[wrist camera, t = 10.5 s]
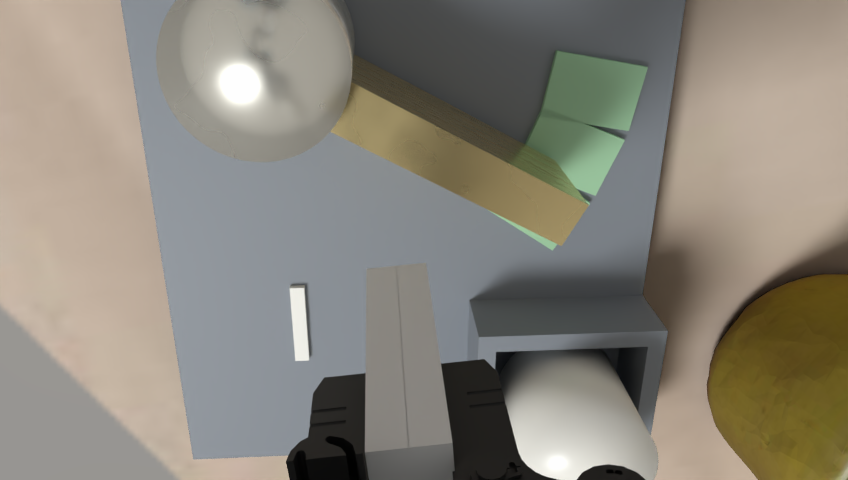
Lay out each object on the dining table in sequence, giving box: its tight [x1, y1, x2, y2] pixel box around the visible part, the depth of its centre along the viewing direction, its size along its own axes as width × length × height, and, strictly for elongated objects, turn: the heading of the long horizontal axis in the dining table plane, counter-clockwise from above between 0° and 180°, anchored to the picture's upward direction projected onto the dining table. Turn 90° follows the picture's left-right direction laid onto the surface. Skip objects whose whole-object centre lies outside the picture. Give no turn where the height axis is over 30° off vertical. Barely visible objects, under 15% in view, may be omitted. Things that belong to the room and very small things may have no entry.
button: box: [499, 348, 658, 480], centre depth 25 cm, size 4×4×4 cm
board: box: [121, 0, 686, 459], centre depth 23 cm, size 24×17×4 cm
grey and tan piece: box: [156, 0, 589, 246], centre depth 21 cm, size 12×5×5 cm, turn 61°
